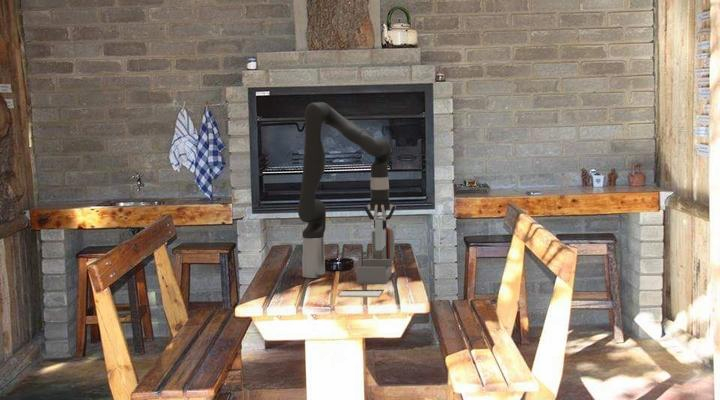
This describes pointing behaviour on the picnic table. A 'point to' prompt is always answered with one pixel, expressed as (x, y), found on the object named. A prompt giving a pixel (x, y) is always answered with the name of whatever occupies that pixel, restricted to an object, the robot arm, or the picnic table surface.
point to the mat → (361, 293)
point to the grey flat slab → (379, 234)
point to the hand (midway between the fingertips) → (380, 229)
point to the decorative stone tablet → (388, 248)
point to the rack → (374, 271)
